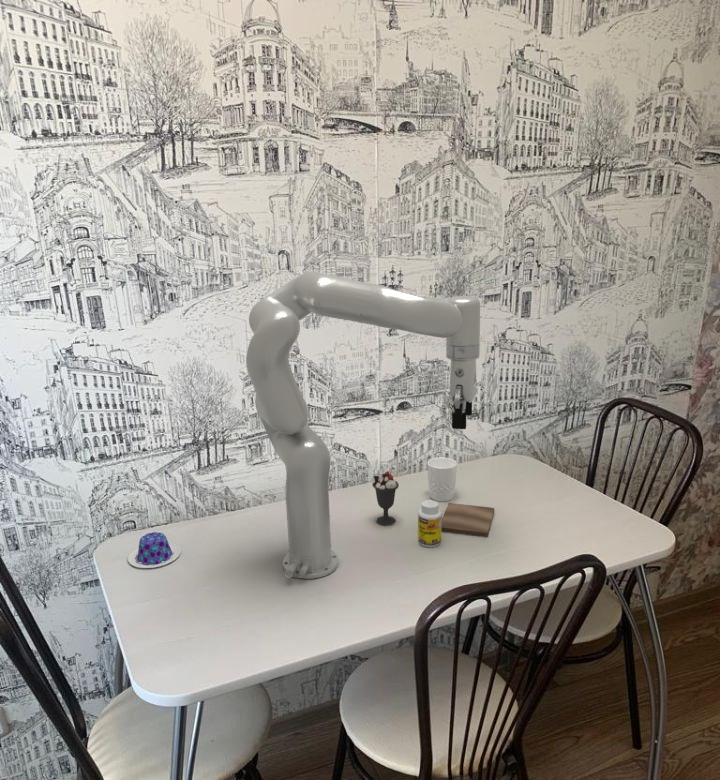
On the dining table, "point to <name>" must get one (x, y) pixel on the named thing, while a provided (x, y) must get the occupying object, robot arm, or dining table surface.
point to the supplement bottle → (429, 524)
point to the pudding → (154, 551)
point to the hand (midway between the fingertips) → (462, 421)
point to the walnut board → (467, 519)
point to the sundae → (385, 495)
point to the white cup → (442, 478)
